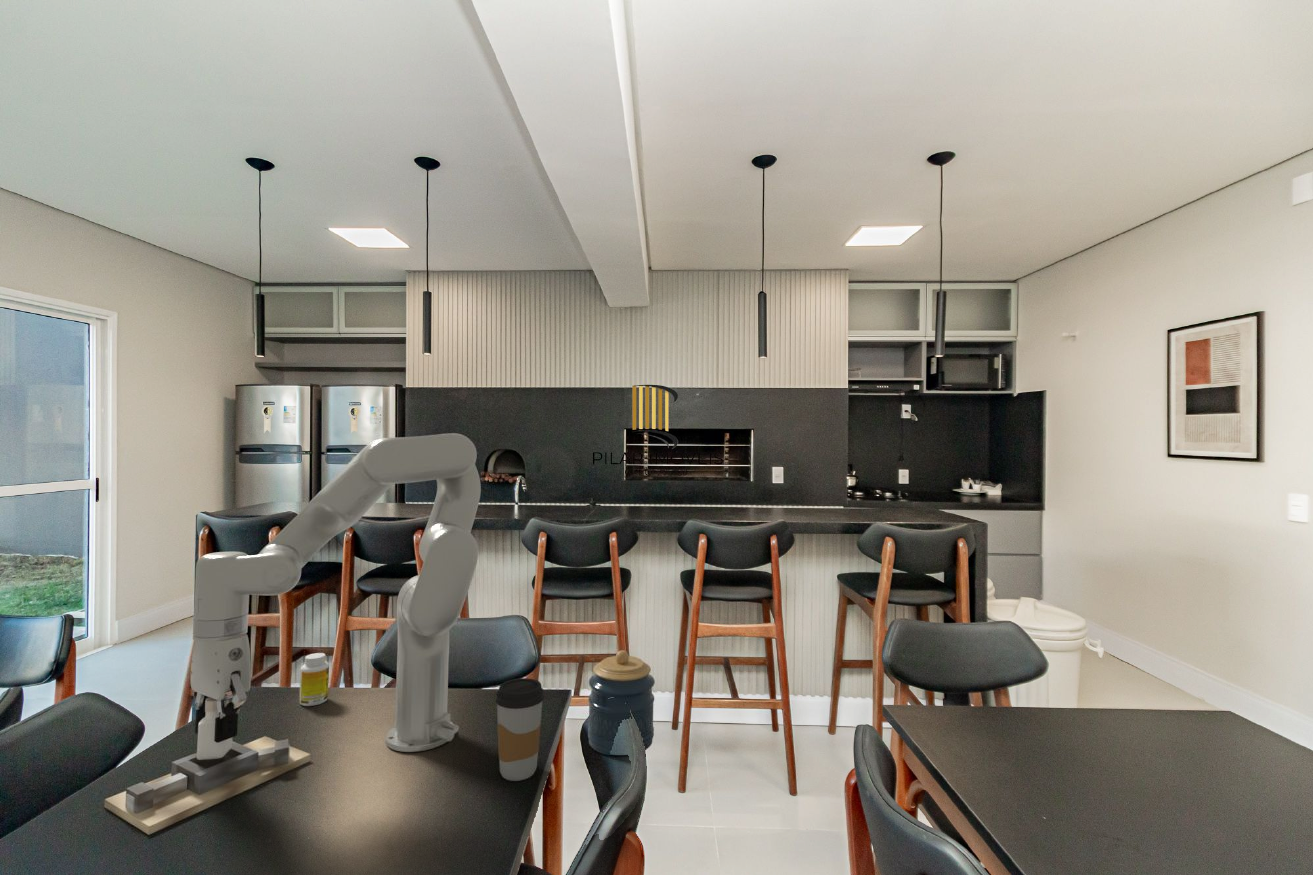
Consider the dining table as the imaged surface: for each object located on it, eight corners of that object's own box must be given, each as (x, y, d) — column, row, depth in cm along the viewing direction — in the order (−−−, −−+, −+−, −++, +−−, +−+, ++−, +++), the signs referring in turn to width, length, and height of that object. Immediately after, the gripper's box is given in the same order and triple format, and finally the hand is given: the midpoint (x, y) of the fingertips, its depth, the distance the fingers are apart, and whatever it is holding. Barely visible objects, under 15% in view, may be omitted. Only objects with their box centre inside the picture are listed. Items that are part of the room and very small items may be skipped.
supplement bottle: (330, 702, 133) (331, 656, 133) (301, 709, 129) (303, 661, 129) (325, 694, 137) (326, 649, 137) (297, 700, 133) (298, 654, 134)
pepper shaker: (222, 759, 99) (225, 701, 99) (194, 761, 98) (197, 703, 98) (233, 747, 103) (236, 692, 103) (206, 750, 102) (209, 693, 102)
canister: (612, 721, 126) (614, 636, 126) (665, 736, 119) (667, 647, 120) (573, 746, 115) (575, 653, 115) (630, 765, 108) (631, 666, 109)
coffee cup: (551, 771, 105) (553, 686, 106) (511, 790, 99) (513, 699, 100) (524, 754, 111) (526, 673, 112) (484, 771, 105) (486, 685, 105)
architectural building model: (265, 742, 114) (265, 720, 114) (310, 760, 108) (311, 737, 108) (104, 807, 93) (105, 779, 93) (148, 834, 86) (149, 805, 86)
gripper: (273, 628, 100) (268, 737, 100) (218, 614, 108) (213, 715, 108) (224, 640, 94) (218, 757, 93) (169, 623, 102) (163, 731, 101)
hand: (215, 733), depth 100 cm, fingers closed on pepper shaker, 5 cm apart
